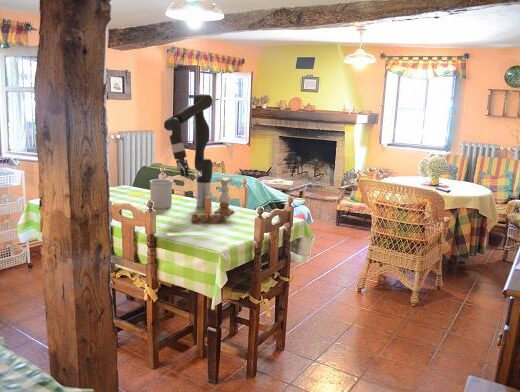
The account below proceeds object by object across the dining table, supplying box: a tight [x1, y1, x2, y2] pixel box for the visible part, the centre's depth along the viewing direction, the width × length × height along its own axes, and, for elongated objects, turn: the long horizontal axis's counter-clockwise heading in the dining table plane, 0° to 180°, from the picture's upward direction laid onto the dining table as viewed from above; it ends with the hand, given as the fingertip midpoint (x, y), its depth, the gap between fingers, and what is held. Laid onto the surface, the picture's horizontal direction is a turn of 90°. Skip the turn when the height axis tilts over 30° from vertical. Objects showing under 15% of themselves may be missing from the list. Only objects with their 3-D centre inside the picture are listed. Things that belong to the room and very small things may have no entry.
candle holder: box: [213, 177, 236, 217], centre depth 295 cm, size 11×11×24 cm
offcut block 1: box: [197, 213, 208, 218], centre depth 274 cm, size 6×3×4 cm, turn 101°
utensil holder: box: [149, 178, 173, 210], centre depth 314 cm, size 15×15×18 cm
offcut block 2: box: [209, 213, 220, 218], centre depth 275 cm, size 6×3×4 cm, turn 101°
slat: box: [204, 197, 212, 216], centre depth 278 cm, size 4×2×14 cm, turn 101°
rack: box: [190, 213, 227, 225], centre depth 277 cm, size 20×11×4 cm, turn 101°
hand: (185, 176), depth 290 cm, fingers open, 8 cm apart
